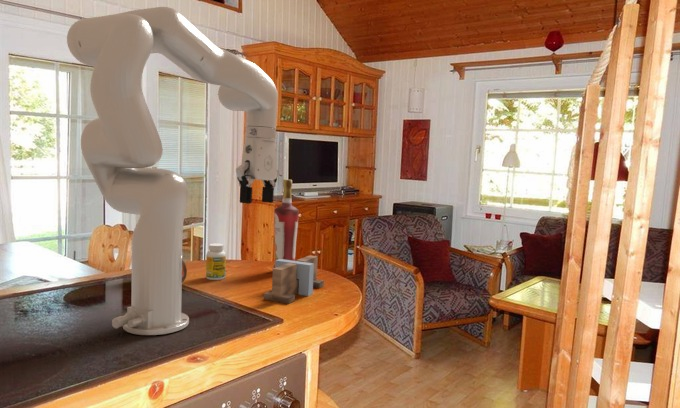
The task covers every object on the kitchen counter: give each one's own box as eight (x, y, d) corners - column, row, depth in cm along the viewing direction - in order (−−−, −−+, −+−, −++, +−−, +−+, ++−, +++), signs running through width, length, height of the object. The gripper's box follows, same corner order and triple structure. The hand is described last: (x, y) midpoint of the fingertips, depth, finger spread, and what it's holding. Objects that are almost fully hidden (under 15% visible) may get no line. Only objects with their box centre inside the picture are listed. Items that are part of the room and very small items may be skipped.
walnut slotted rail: (288, 304, 122) (289, 271, 121) (263, 299, 124) (264, 267, 124) (324, 285, 140) (325, 257, 139) (301, 282, 143) (302, 254, 142)
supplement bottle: (219, 275, 147) (219, 242, 146) (229, 278, 143) (229, 245, 142) (202, 277, 143) (202, 243, 142) (212, 281, 139) (212, 246, 139)
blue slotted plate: (312, 293, 131) (313, 263, 131) (308, 296, 129) (309, 265, 128) (278, 288, 135) (279, 258, 135) (274, 290, 133) (275, 260, 132)
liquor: (269, 269, 157) (272, 178, 154) (291, 268, 160) (295, 179, 157) (276, 274, 150) (279, 180, 148) (300, 273, 153) (303, 180, 151)
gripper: (253, 131, 119) (249, 204, 120) (290, 138, 135) (287, 203, 136) (227, 131, 122) (223, 202, 123) (266, 137, 138) (263, 200, 139)
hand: (256, 202), depth 129 cm, fingers open, 9 cm apart
